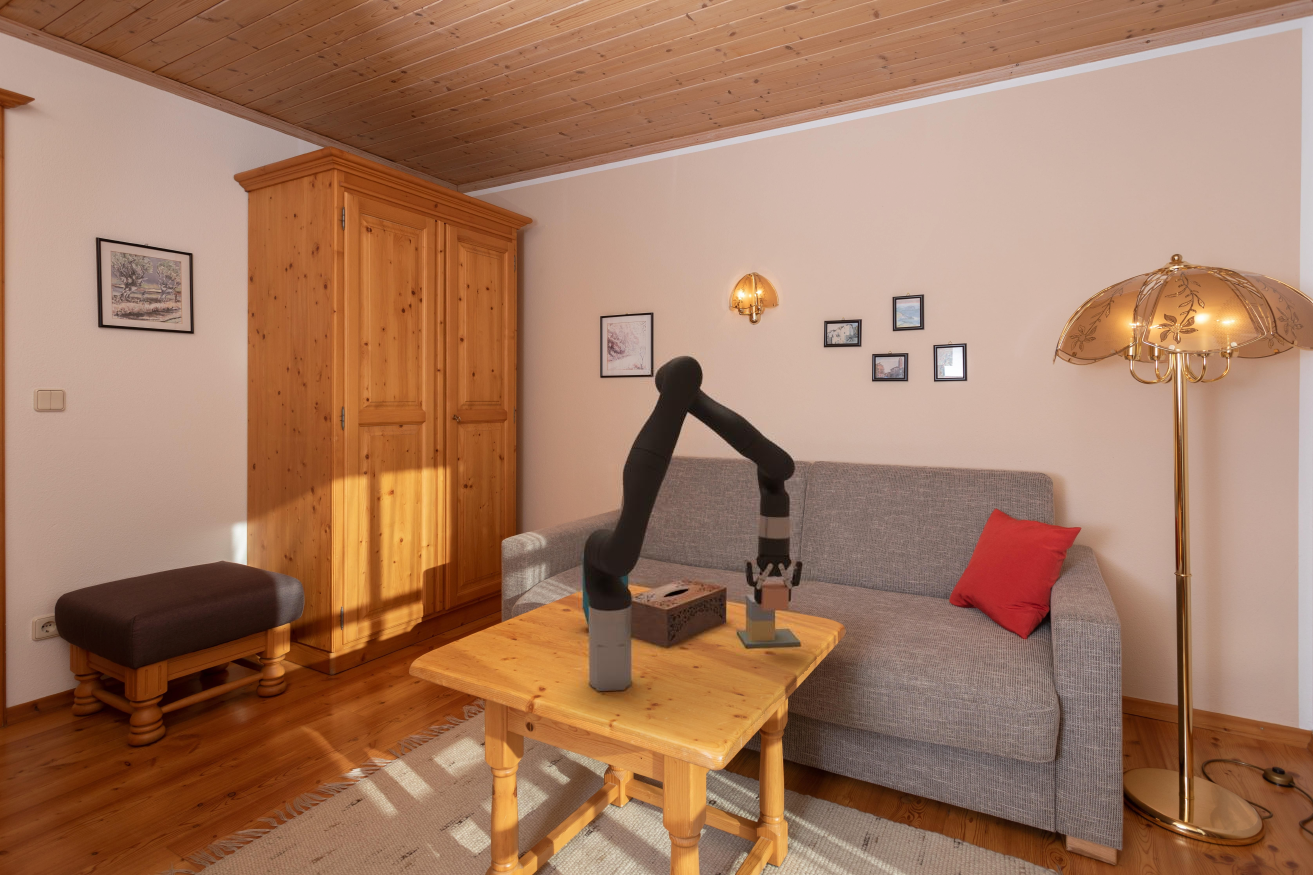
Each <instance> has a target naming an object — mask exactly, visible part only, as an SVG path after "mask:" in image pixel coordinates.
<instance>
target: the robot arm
mask: <svg viewBox="0 0 1313 875" xmlns="http://www.w3.org/2000/svg"><path fill="white" fill-rule="evenodd" d="M703 378H704V375H703V370H702V366H701V365H700V363H699V361H698V360H697V359H696V358H694V357H693V356H689V355H681V356H677V357H674V358H672V359H671V360H669V361H667V362H666V363H664V364H663V365H662V366H660V367H659V369H658V370H657V371H656V373H655V375H654V385H655V387H656V390H657V392H658V393H659V396H658V399H657V402H656V404H655V407H654V409H653V410H652V412H651V413H650V415H649V417H648V418H647V420H646V422H645V423H644V424H643V426H642V427H641V429H640V430H639V432H638V434H637V436H636V437H635V440H633V443H632V445H631V447H630V450H629V452H628V456H627V458H626V460H625V462H624V466H623V470H622V489H623V492H622V493H623V505H622V510H621V513H620V517H619V519H618V522H617V524H616V527H615V529H614V530H613V529H608V528H598V529H597V530H594V531H593V532H592V533H590V535H589V536H588V537H587V539H586V541H585V544H584V548H583V554H584V579H585V590H586V593H587V595H588V598H589V628H588V679H589V681H588V683H589V686H590V687H591V688H593V689H595V690H596V692H612V691H614V692H615V691H626V690H627V689H626V688H628V687H629V686H630V685H632V682H633V681H632V672H633V671H632V667H633V666H632V637H631V617H632V614H631V604H632V597H631V596H632V592H631V590H630V589H629V587H628V588H627V587H626V585H625V584H624V583H623V581H622V579H621V577H624V576H626V575H628V576H629V574H630V573H632V572H633V570H634V569H635V567H636V565H637V563H638V561H639V558H640V555H641V552H642V548H643V544H644V540H645V537H646V532H647V529H648V525H649V522H650V518H651V515H652V513H653V509H654V506H655V504H656V500H657V498H658V495H659V493H660V489H661V486H662V484H663V482H664V479H665V478H666V474H667V472H668V470H669V466H670V463H671V461H672V458H673V456H674V455H673V454H674V452H675V449H676V446H677V443H678V441H679V437H680V435H681V431H682V428H683V424H684V422H685V420H686V417H687V415H688V414H690V415H691V416H692V417H694V418H695V419H696V420H698V421H700V422H701V423H703V424H704V425H705V426H706V427H708V428H709V429H710V430H711V431H713V432H714V433H715V434H716V435H718V436H719V437H721V438H720V439H723V441H725V443H727V444H728V445H729V446H730V447H732V448H733V449H734V451H736V452H737V453H739V455H741V456H742V457H745V458H746V459H748V460H750V461H752V462H753V463H754V464H755V465H756V472H757V473H756V475H757V482H758V489H759V495H760V496H759V497H760V501H759V502H760V503H759V520H758V529H757V536H758V538H757V541H758V542H757V557H756V558H755V559H754V560H753V559H752V560H749V559H745V560H744V561H743V562H744V563H743V564H744V570H745V578H746V579H745V581H746V584H747V585H748V586H749V587H752V588H754V589H753V591H754V592H753V595H754V599H755V601H756V602H757V603H758V604H761V600H762V589H761V587H762V585H763V583H765V582H766V580H767V579H768V578H772V577H777V578H781V580H782V583H783V585H785V586H786V587H787V588H788V589H789V603H790V602H791V600H792V588H794V587H799V586H800V583H801V576H802V570H803V565H804V564H803V562H802V561H801V560H799V559H791V557H790V556H791V553H790V552H791V548H790V547H791V522H790V521H791V519H790V516H791V514H790V511H791V510H790V508H791V507H790V506H791V500H790V495H789V493H788V491H787V490H786V486H785V485H786V484H785V481H788V480H789V479H791V478H792V477H793V475H794V474H795V470H796V464H795V462H794V459H793V458H792V456H791V455H790V454H789V453H788V452H787V451H785V449H783V448H781V447H780V446H779V445H777V444H776V443H775V442H773V441H772V440H770V439H769V438H768V437H766V436H765V435H763V433H761V431H760V430H759V429H757V428H756V427H755V426H754V425H752V423H750V422H749V421H748V420H747V419H746V418H745V417H744V416H743V415H740V414H739V413H737V412H736V411H735V410H733V409H730V408H729V407H726V406H725V405H723V404H721V403H720V402H718V401H716V400H715V399H714V398H712V397H710V396H709V395H708V394H706V393H705V392H704V391H703V389H701V387H702V384H703V380H704V379H703ZM756 566H757V567H758V569H759V571H758V573H757V575H756V579H755V580H754V573H753V570H755V567H756ZM790 566H791V568H792V569H793V571H792V576H791V580H790V577H789V575H788V573H787V571H788V569H789V567H790Z"/></svg>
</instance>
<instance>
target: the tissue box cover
mask: <svg viewBox="0 0 1313 875" xmlns="http://www.w3.org/2000/svg"><path fill="white" fill-rule="evenodd" d="M727 588H728V587H726V586H721V585H717V584H712V583H707V582H702V581H699V580H694V579H689V578H683V579H680V580H675V581H673V582H671V583H670V582H669V583H668V584H664V585H662V586H658V587H655V588H651V589H648V590H646V591H643V592H642V591H641V592H640V593H636V594H634V595H631V597H632V604H631V614H632V617H631V639H632V638H633V639H636V640H639V641H642V642H645V643H648V644H652V645H655V646H658V647H661V648H664V649H668V648H670V647H673V646H675V645H677V644H680V643H682V642H684V641H686V640H689V639H691V638H693V637H695V636H698V635H700V634H703V633H705V632H708V631H710V630H712V629H714V628H717V627H719V626H721V625H724V624H726V623H727Z"/></svg>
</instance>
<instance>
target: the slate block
mask: <svg viewBox="0 0 1313 875" xmlns="http://www.w3.org/2000/svg"><path fill="white" fill-rule="evenodd" d="M746 615H747V616H748V617H749V619H750V620H751V621H775V622H776V610H765V611H764V610H763V609H762V608H761V607H760V606H759V605H758V604H757V602H756V601H755V599H754V594H745V616H746Z"/></svg>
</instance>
